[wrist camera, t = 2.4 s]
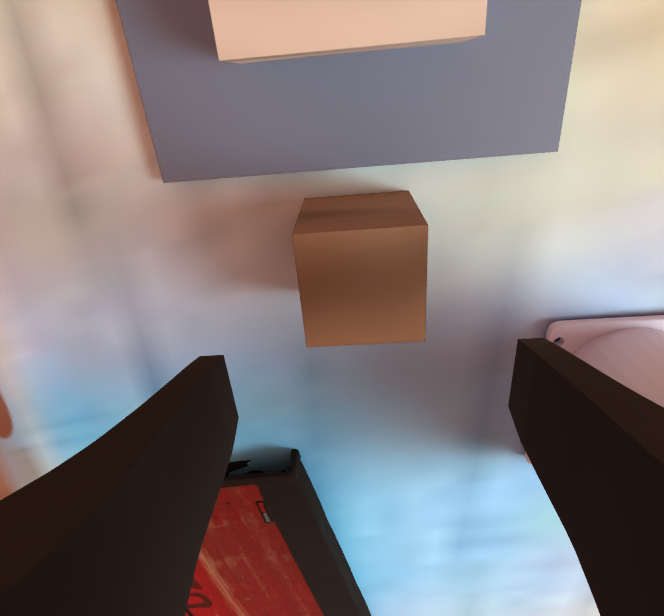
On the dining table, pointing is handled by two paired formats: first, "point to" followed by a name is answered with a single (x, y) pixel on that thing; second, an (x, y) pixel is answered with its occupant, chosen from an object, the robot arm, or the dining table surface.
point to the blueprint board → (347, 81)
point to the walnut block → (362, 269)
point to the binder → (272, 551)
